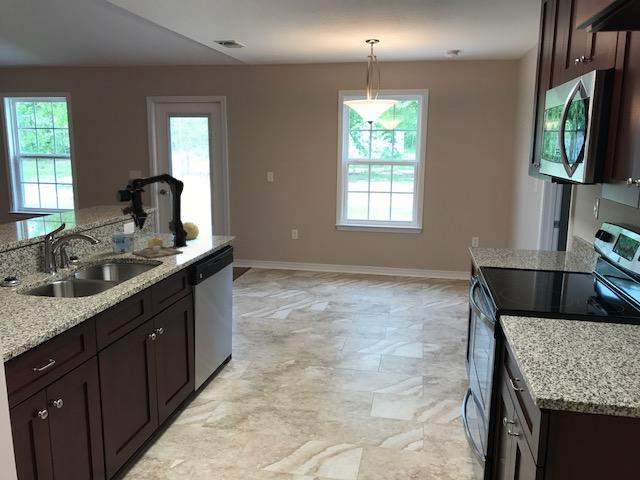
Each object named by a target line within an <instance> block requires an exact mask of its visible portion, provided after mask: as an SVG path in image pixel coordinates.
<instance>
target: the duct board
mask: <svg viewBox="0 0 640 480" xmlns="http://www.w3.org/2000/svg"><path fill="white" fill-rule="evenodd" d="M131 254H132V255H136V256H140V257H143V258H147V259H151V260H152V259H158V258H163V257H169V256H170V257H171V256H175V255H181V254H184V251H183V250H180V249H175V248H171V247H167V246H163V247H161V253H159V254H153V248H152V249H151V248H148V249H147V248H146V249H141V250H140V249H139V250H135V251H133V252H132V253H131Z"/></svg>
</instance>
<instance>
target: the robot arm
mask: <svg viewBox="0 0 640 480" xmlns="http://www.w3.org/2000/svg"><path fill="white" fill-rule="evenodd" d="M160 182H165V184H166V185H169V189H170V192H171V196H172V198H171V199H172V203H171V204H172V209H171V210H172V216H171V217H172V219H171V221H168V229H169V231H170V233H172V234H171V235H172V236H173V240H172V241H173V245H172V246H173V247H175V248H182V247H188V246H189V245H188V244H187V239H186V236H187V234H188V233H187V232H186V231H185V230H184V228H183V221H182V217H181V216H182V204H181V203H182V194H183V191H184V187H185V184H184V183H185V182H183V181H182V180H179V179H178V178H176V177H174V176H172V175H171V174H169V173H167V172H162V173H161V174H156V175H151V176H147V177H131V178H130V179H129V180H128V182H127V185H126V186H125V188H124V189H117V190H116V191H117V192H116V197H115V198H116V201H117V203H126V202H127V203H128V202H130V201H131V202H130V204H129V205H128V206H125V207H123V208H120V211H121V213H122V215H123V216H127V215H129V216H130V217H131V218H132V219H133V222H134V225H135V227H136V228H139V230H140V231H142V230H143V227H144V224H145V222H146V220H147V219H148V213H147V212H146V211H144V207H143V205H144V202H143V194H142V193H146V190H144V189H143V188H144V187H146V186H147V185H151V184H155V183H160Z"/></svg>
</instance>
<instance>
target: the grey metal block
mask: <svg viewBox="0 0 640 480" xmlns="http://www.w3.org/2000/svg"><path fill="white" fill-rule="evenodd" d="M159 253H161V246H154V247H153V254H159Z"/></svg>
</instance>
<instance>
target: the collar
mask: <svg viewBox="0 0 640 480" xmlns="http://www.w3.org/2000/svg"><path fill="white" fill-rule="evenodd" d="M147 246H148V247H147V248H148V249H152V248H153V247H154V246H161V247H164V246H163V239H162V238H159V237H158V238H157V237H156V238H150V239H147Z"/></svg>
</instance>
